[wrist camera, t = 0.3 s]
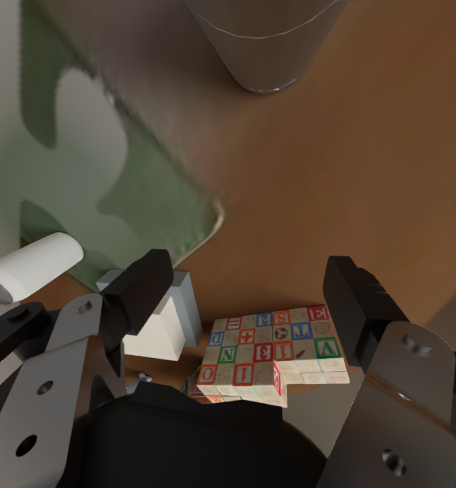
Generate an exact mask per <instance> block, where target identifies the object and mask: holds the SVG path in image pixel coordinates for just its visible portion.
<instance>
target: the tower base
mask: <svg viewBox="0 0 456 488" xmlns="http://www.w3.org/2000/svg"><path fill="white" fill-rule="evenodd" d="M124 270H126V269H110V270H109V271H108V272H107V273H106V274H105V275H104V276H102V277H101V278H100V279H99V280H98V281H97V282H96V285H97V286H98V288H99V290H100V292H101V291H102V290H103V289H104V288H105V287H106V286H108V285H109V284H110V283H111V282H112V281H113V280H114V279H115V278H117V277H118V276H119V275H121V273H122V272H123V271H124ZM173 273H174V279H173V283H172V285H171V287H170V288H169V289H168V291H167V292H166V294H165V295H164V297H163V298H162V300H161V301H160V303H159V304H158V306H157V307H156V309H155V310H154V312H153V313H152V315H151V316H150V318H149V319H148V321H147V322H146V324H145V325H144V326H143V328H142V329H141V331H140V332H139V334H138V335H137V336H133V335H125V337H124V338H123V342H124V352H125V354H130V355H137V356H145V357H152V358H159V359H167V360H174V361H178V359H179V357H180V354H181V351H182V349H183V346H187V347H195V348H197V347H198V344H199V341H200V338H201V335H202V332H203V328H202V324H201V320H200V316H199V312H198V308H197V304H196V300H195V296H194V292H193V288H192V284H191V280H190V276H189V272H188V271H173Z"/></svg>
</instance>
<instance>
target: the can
mask: <svg viewBox="0 0 456 488" xmlns="http://www.w3.org/2000/svg"><path fill="white" fill-rule="evenodd" d="M83 255H84V252H83V248H82V246H81V245H80V243H79V242H78V241H77V240H76V239H75V238H74V237H72V236H70V235H68V234H66V233H61V232H56V233H53V234H51V235H49V236H47V237H44V238H42V239H40V240H38V241H36V242H34V243H32V244H30V245H27V246H25V247H23V248H21V249H19V250H17V251H15V252H13V253H11V254H8V255H6V256H4V257H2V258H0V305H5V306H8V305H11V304H12V303H13V302H16V301H20V300H23V299H25V298H27V297H28V296H30V295H31V294H33V293H34V292H36V291H37V290H39V289H40V288H41V287H43V286H44V285H46V284H47V283H49V282H50V281H52V280H53V279H55V278H56V277H58V276H59V275H60V274H62V273H63V272H65V271H66V270H68V269H69V268H71V267H72V266H73V265H75V264H76V263H78V262H79V261H81V260H82V258H83Z"/></svg>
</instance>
